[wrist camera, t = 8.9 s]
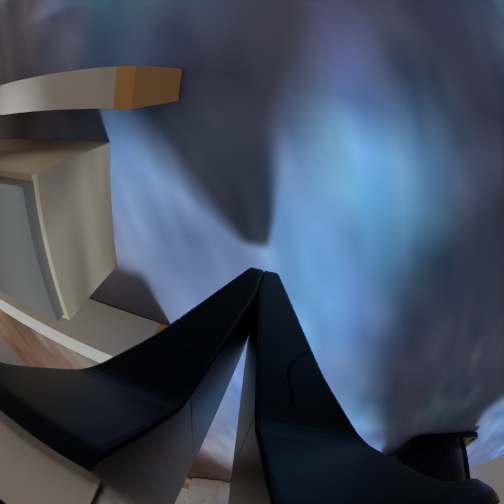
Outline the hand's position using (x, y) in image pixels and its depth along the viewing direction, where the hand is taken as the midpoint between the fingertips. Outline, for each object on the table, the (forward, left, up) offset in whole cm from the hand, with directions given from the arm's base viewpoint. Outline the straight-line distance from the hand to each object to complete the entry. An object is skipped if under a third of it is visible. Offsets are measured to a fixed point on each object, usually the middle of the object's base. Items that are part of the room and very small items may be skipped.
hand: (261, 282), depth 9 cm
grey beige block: (+10, -1, -1) cm, 10 cm away
